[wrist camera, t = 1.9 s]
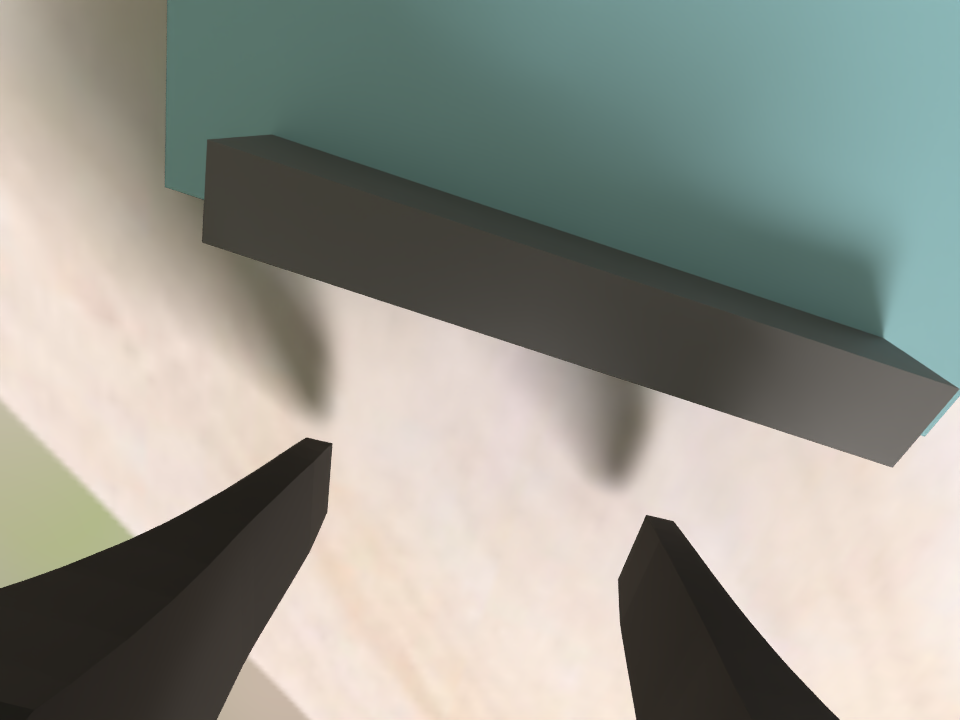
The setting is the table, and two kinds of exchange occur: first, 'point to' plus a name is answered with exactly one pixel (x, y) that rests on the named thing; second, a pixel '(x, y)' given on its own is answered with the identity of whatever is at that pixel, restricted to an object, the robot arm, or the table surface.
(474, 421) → the table surface
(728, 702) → the robot arm
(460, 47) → the teal hinge plate
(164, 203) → the table surface
